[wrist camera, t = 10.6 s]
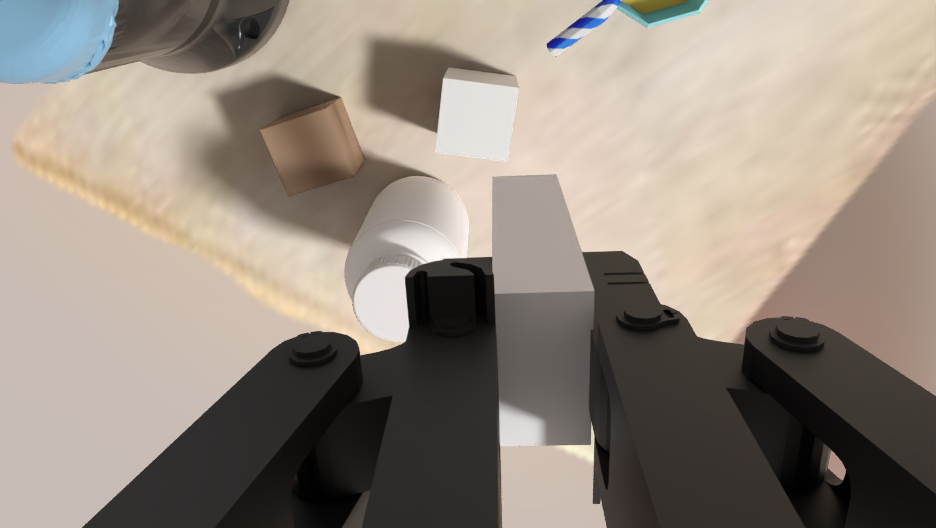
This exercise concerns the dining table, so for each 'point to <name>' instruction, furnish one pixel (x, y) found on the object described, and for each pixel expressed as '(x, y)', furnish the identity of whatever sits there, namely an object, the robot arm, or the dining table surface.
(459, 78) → the white block
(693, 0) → the cup
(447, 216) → the pill bottle
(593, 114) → the dining table surface
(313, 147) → the walnut cube
